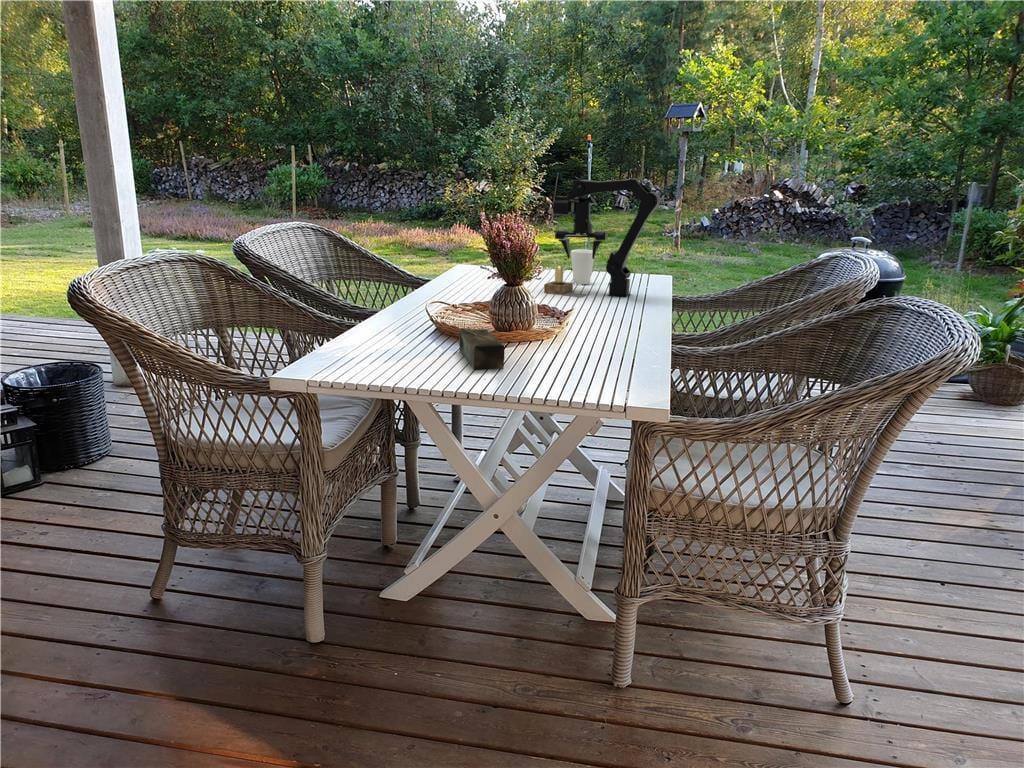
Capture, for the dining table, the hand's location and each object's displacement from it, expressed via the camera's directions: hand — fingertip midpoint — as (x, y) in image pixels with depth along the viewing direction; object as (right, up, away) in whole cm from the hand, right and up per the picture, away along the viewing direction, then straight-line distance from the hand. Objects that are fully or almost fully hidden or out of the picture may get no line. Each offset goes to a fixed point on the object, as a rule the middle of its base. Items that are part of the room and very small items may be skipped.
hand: (581, 258), depth 277 cm
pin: (-8, -12, +3) cm, 15 cm away
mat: (-2, -14, -2) cm, 14 cm away
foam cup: (+2, -6, +22) cm, 23 cm away
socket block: (-8, -12, +3) cm, 15 cm away
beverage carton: (-34, -40, -85) cm, 100 cm away
